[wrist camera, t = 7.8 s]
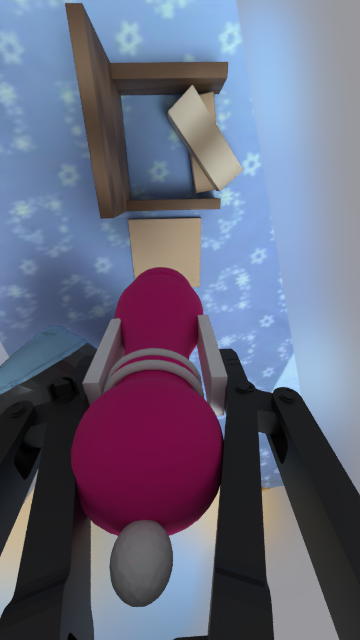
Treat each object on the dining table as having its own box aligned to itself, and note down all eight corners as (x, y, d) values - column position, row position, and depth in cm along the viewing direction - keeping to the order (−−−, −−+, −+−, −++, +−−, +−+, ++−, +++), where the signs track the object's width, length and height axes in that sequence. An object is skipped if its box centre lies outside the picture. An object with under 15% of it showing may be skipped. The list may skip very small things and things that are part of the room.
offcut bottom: (217, 188, 35) (221, 187, 33) (194, 192, 35) (196, 193, 33) (209, 100, 31) (213, 91, 28) (182, 106, 31) (184, 98, 28)
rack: (213, 206, 36) (236, 215, 24) (124, 208, 36) (100, 218, 23) (219, 81, 29) (255, 2, 17) (109, 82, 29) (65, 3, 17)
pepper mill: (129, 330, 25) (38, 648, 8) (119, 262, 22) (-88, 556, 4) (197, 327, 25) (261, 632, 8) (198, 259, 22) (312, 531, 4)
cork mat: (199, 285, 42) (199, 286, 41) (136, 287, 42) (136, 288, 41) (200, 217, 37) (201, 218, 36) (128, 219, 36) (128, 220, 36)
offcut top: (237, 171, 32) (243, 170, 29) (215, 190, 33) (219, 190, 30) (190, 94, 28) (192, 84, 25) (167, 118, 29) (167, 111, 26)
